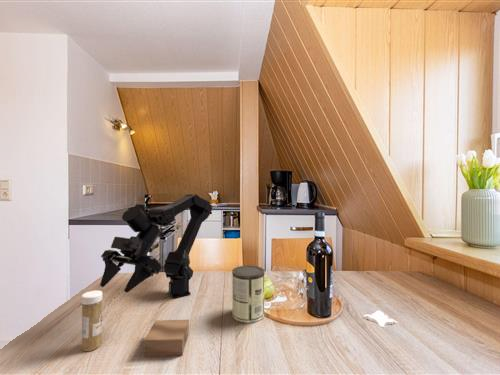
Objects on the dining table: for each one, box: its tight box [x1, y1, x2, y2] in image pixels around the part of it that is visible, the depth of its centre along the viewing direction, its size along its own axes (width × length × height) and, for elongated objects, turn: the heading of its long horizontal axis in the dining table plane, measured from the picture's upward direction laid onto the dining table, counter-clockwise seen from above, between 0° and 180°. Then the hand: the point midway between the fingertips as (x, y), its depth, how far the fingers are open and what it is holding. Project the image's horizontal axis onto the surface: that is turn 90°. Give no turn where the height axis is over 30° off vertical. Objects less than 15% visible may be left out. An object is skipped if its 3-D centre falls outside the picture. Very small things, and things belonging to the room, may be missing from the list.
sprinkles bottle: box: [80, 289, 103, 352], centre depth 66 cm, size 5×5×14 cm
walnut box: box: [143, 319, 190, 358], centre depth 67 cm, size 9×9×4 cm
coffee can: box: [231, 265, 266, 324], centre depth 83 cm, size 10×10×14 cm
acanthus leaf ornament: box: [362, 310, 399, 328], centre depth 80 cm, size 8×7×2 cm
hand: (113, 289), depth 71 cm, fingers open, 9 cm apart
